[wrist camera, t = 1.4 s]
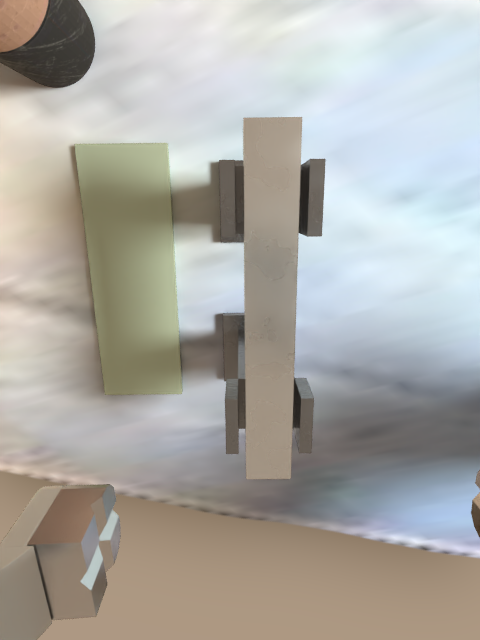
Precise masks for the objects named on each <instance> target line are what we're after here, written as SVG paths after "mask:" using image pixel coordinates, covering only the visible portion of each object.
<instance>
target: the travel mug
mask: <svg viewBox="0 0 480 640" xmlns="http://www.w3.org/2000/svg"><path fill="white" fill-rule="evenodd" d="M94 52H95V37H94V32H93V28H92V24H91V22H90V19H89V17H88V15H87V13H86V12H85V10H84V8H83V7H82V5H81V4H80V2H79V1H78V0H0V63H2V64H4V65H6V66H8V67H10V68H12V69H13V70H15V71H17V72H19V73H21V74H23V75H24V76H26V77H28V78H30V79H32V80H34V81H36V82H38V83H40V84H43V85H46V86H50V87H65V86H69V85H71V84H74V83H76V82H77V81H79V80H80V79H81V78H82V77H83V76H84V75H85V74H86V73H87V71H88V69H89V68H90V66H91V63H92V60H93V57H94Z"/></svg>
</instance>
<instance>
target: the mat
mask: <svg viewBox="0 0 480 640" xmlns="http://www.w3.org/2000/svg"><path fill="white" fill-rule="evenodd" d="M74 145H75V153H76V161H77V169H78V178H79V186H80V194H81V202H82V211H83V219H84V227H85V235H86V244H87V252H88V260H89V268H90V276H91V285H92V293H93V301H94V309H95V318H96V326H97V334H98V342H99V351H100V359H101V367H102V375H103V383H104V392H105V395H131V394H182V375H181V358H180V341H179V324H178V307H177V289H176V272H175V255H174V238H173V221H172V204H171V187H170V170H169V152H168V144H167V143H120V144H74Z"/></svg>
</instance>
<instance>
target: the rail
mask: <svg viewBox="0 0 480 640" xmlns="http://www.w3.org/2000/svg"><path fill="white" fill-rule="evenodd" d="M301 137H302V117H272V118H244V120H243V181H244V310H245V440H246V479H291V455H292V423H293V391H294V360H295V328H296V296H297V264H298V232H299V200H300V169H301Z"/></svg>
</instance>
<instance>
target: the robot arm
mask: <svg viewBox="0 0 480 640" xmlns="http://www.w3.org/2000/svg"><path fill="white" fill-rule="evenodd" d="M475 484H476V485H477V486H478V488H479V489H480V470H479V471H478V473H477V476H476V482H475ZM115 501H116V496H115V491H114V487H113V486H112V485H110V484H106V485H66V486H44V487H42V488H40V489H39V490H38V491H37V492H36V493H35V495H34V496H33V498H32V499H31V500H30V502H29V503H28V505H27V506H26V508H25V509H24V510H23V512H22V513H21V515H20V516H19V518H18V519H17V520H16V522H15V523H14V525H13V526H12V528H11V529H10V530H9V532H8V533H7V535H6V536H5V538H4V539H3V540H2V542H1V544H0V640H37V639H38V638H39V637H40V636H41V635H42V634H43V633H44V631H45V630H46V629H47V628H48V627H49V626H50V625H51V624H52V620H61V619H74V618H85V617H96V616H97V613H98V610H99V607H100V604H101V601H102V598H103V596H104V593H105V590H106V587H107V579H106V573H105V572H106V571H107V570H108V569H109V568H110V567H111V566H112V565H114V563H115V560H116V556H117V553H118V549H119V542H120V520H119V516H118V515H117V514H116V513H115V512H114V511H113V510H112V509H113V506H114V504H115ZM471 514H472V518H473V523H474V527H475V529H476V531H477V533H478V535H479V537H480V493H479V494H478V495H477V496H476V497H475V498H474V499H473V501H472V511H471Z"/></svg>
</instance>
